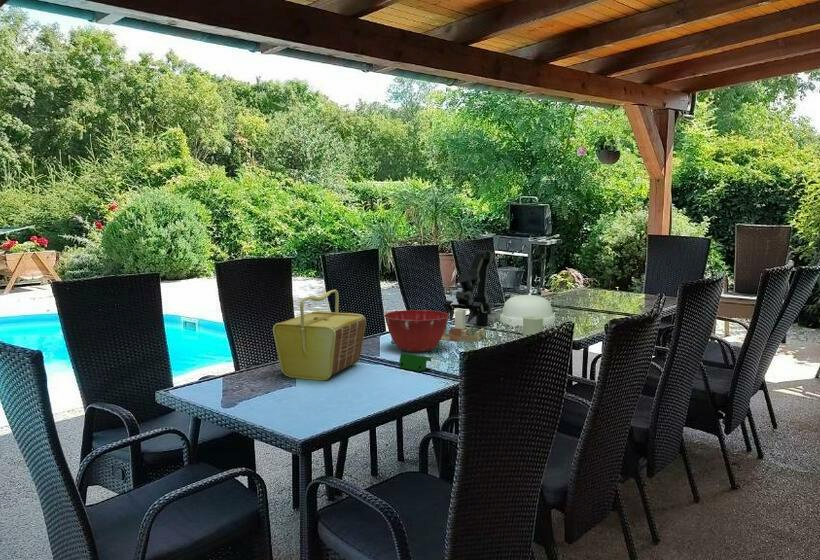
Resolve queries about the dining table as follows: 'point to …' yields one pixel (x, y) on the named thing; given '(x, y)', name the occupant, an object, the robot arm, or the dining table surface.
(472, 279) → the robot arm
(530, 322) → the can
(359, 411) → the dining table surface
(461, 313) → the tall off-white box
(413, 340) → the mixing bowl
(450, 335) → the rack
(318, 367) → the picnic basket
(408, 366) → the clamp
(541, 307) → the dome cover
